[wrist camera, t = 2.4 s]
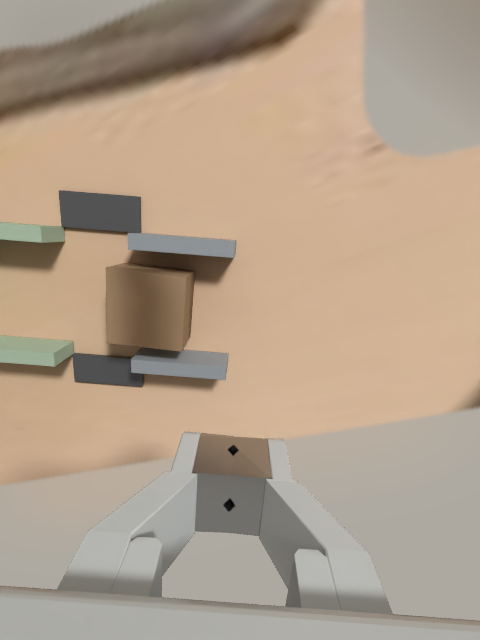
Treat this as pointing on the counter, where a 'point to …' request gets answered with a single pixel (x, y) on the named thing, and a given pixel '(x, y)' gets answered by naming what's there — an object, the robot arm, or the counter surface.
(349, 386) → the counter surface
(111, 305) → the walnut block
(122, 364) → the trap channel
